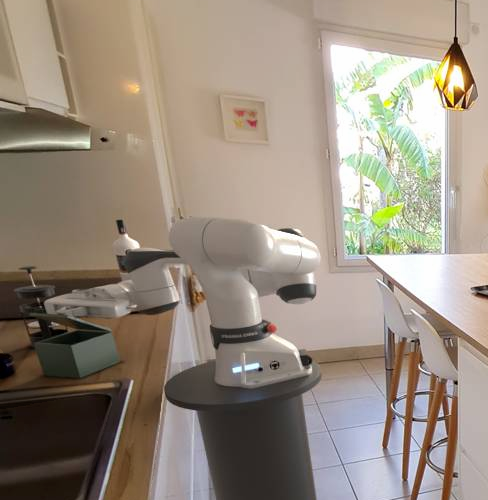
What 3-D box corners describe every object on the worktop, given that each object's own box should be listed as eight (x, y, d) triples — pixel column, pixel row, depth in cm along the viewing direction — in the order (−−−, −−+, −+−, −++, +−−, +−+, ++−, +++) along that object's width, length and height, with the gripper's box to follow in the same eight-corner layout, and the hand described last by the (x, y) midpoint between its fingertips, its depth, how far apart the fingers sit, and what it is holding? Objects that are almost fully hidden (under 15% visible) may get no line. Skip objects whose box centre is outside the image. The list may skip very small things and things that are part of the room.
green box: (80, 378, 140) (70, 345, 137) (43, 375, 141) (33, 343, 138) (120, 362, 151) (112, 331, 148) (86, 359, 152) (77, 329, 149)
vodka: (151, 293, 226) (133, 218, 215) (153, 297, 219) (135, 220, 208) (123, 296, 220) (103, 218, 209) (125, 300, 213) (105, 221, 202)
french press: (32, 341, 165) (7, 265, 156) (72, 336, 170) (50, 262, 162) (29, 352, 156) (3, 271, 148) (71, 346, 162) (48, 269, 153)
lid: (67, 317, 135) (67, 315, 135) (29, 315, 136) (29, 312, 136) (111, 331, 148) (112, 329, 148) (76, 329, 149) (77, 326, 149)
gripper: (144, 315, 152) (101, 329, 139) (77, 311, 154) (29, 324, 141) (139, 293, 150) (95, 304, 137) (71, 289, 152) (21, 300, 139)
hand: (61, 314), depth 139 cm, fingers closed, pressing on lid
